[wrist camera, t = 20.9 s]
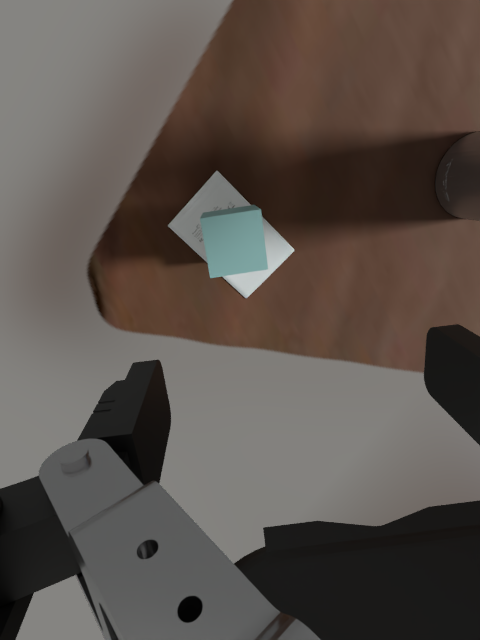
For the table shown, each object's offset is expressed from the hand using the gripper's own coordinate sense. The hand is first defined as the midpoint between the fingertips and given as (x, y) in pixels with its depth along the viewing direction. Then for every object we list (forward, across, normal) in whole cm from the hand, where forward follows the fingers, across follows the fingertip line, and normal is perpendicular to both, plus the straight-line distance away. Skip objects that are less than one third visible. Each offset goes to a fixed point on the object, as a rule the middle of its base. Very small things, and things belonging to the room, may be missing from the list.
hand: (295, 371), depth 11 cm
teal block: (+28, +1, 0) cm, 28 cm away
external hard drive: (+36, +1, +1) cm, 36 cm away
